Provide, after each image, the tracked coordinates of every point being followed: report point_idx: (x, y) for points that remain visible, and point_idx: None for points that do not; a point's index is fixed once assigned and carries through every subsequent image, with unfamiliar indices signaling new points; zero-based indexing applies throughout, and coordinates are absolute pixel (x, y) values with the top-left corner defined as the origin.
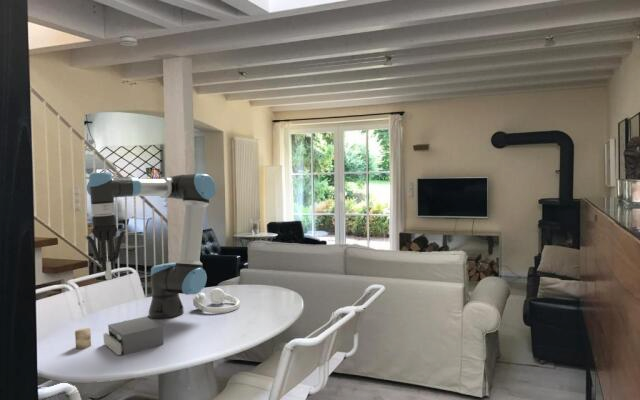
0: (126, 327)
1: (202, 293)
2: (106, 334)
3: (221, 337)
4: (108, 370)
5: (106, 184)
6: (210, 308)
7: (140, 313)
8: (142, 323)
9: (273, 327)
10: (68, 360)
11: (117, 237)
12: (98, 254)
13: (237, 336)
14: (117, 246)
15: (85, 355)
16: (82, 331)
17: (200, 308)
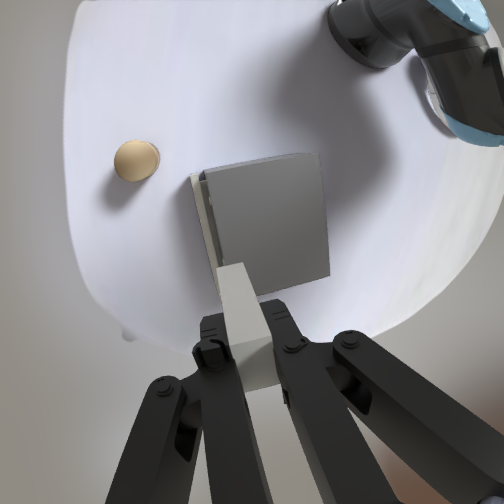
0: (251, 238)
1: None
2: (197, 193)
3: (397, 276)
4: (194, 340)
5: None
6: (442, 113)
7: None
8: (296, 224)
9: (453, 271)
10: (115, 247)
11: (480, 497)
12: (190, 467)
13: (412, 284)
14: (403, 455)
15: (147, 234)
16: (133, 172)
17: (429, 85)
